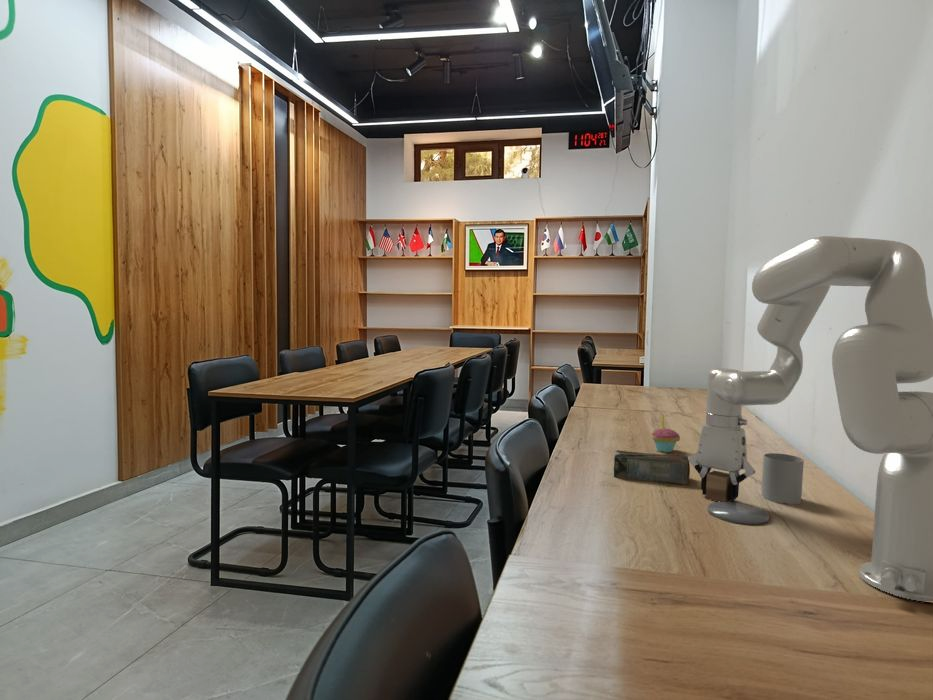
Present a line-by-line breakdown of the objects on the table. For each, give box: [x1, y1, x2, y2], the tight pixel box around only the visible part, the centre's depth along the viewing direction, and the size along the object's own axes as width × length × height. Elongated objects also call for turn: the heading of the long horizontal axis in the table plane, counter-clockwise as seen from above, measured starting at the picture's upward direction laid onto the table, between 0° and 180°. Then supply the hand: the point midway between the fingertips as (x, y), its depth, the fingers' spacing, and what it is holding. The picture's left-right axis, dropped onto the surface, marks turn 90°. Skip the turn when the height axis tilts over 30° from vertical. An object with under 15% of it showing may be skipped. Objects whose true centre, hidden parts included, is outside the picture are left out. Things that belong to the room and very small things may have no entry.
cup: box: [760, 452, 805, 505], centre depth 135 cm, size 8×8×10 cm
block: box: [705, 470, 731, 502], centre depth 134 cm, size 4×4×6 cm
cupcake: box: [651, 412, 681, 453], centre depth 181 cm, size 9×8×12 cm
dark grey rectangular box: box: [613, 450, 691, 485], centre depth 151 cm, size 8×19×7 cm, turn 71°
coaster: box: [707, 501, 770, 525], centre depth 123 cm, size 12×12×1 cm
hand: (719, 495), depth 134 cm, fingers open, 5 cm apart
